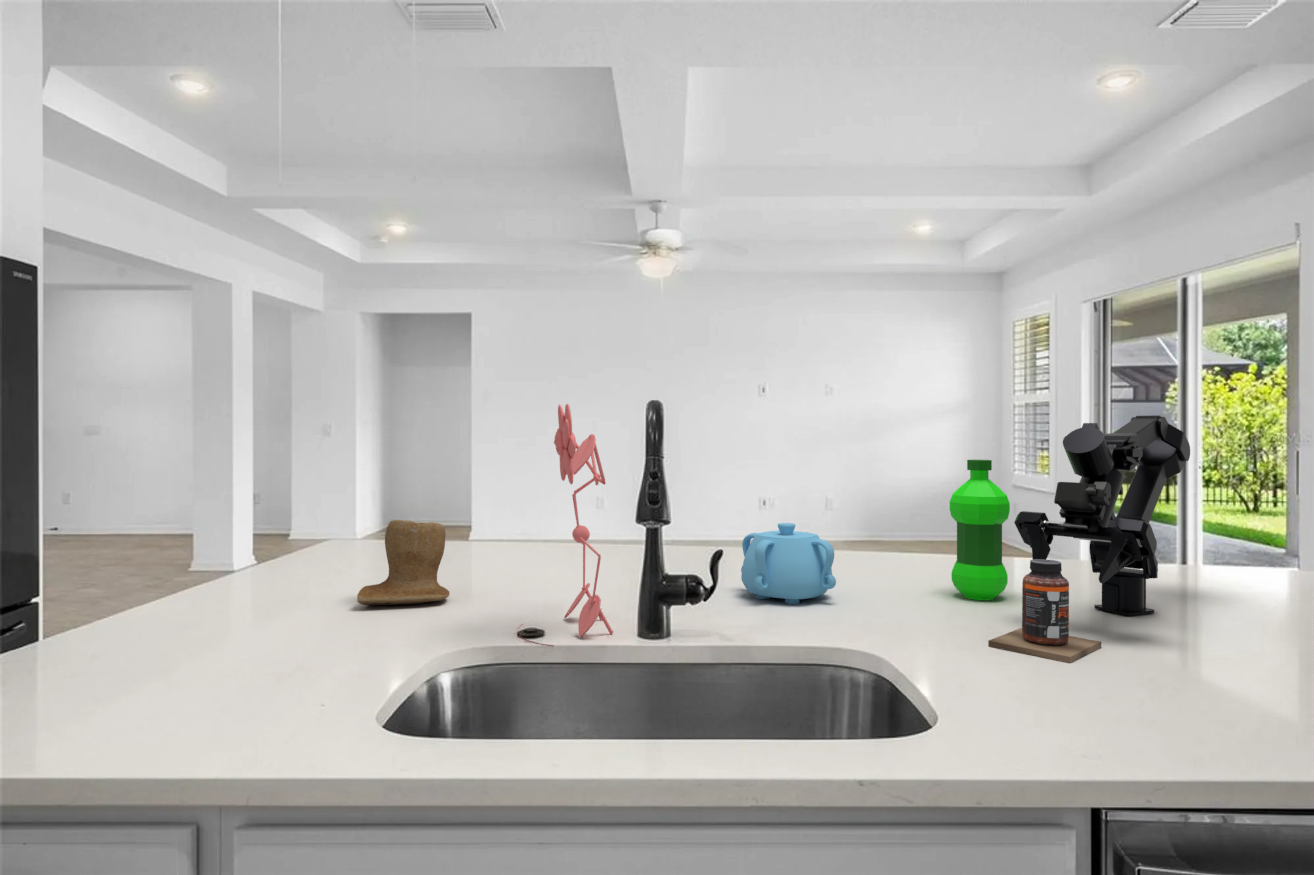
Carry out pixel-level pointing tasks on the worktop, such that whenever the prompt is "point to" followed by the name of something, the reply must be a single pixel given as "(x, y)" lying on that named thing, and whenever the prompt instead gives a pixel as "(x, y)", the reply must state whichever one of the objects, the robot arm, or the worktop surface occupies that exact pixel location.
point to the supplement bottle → (1045, 603)
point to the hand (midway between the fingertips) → (1067, 577)
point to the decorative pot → (787, 564)
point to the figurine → (568, 466)
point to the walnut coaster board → (1046, 646)
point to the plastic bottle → (979, 534)
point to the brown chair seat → (409, 565)
